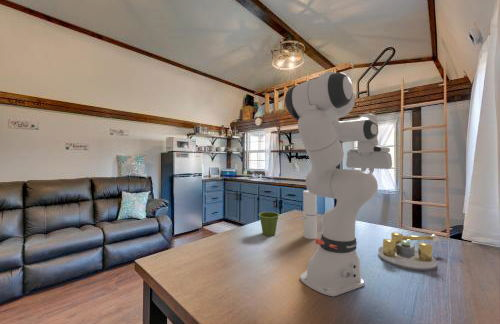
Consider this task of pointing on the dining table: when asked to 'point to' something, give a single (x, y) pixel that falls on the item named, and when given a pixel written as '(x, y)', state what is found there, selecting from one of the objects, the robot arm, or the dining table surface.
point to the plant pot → (268, 222)
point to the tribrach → (408, 255)
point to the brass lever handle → (411, 238)
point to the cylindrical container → (309, 215)
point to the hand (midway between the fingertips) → (367, 177)
